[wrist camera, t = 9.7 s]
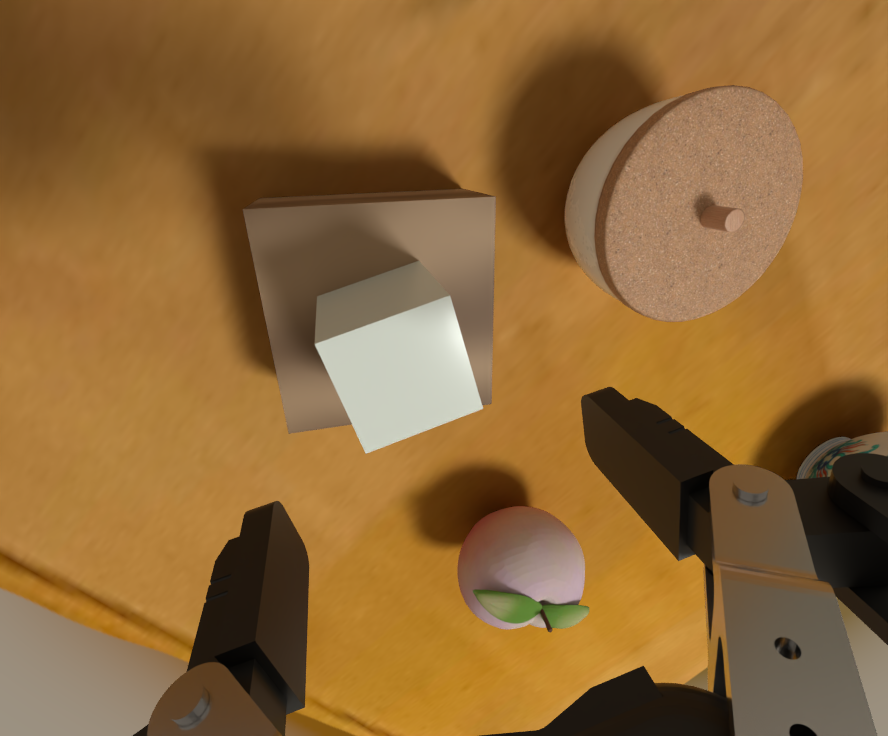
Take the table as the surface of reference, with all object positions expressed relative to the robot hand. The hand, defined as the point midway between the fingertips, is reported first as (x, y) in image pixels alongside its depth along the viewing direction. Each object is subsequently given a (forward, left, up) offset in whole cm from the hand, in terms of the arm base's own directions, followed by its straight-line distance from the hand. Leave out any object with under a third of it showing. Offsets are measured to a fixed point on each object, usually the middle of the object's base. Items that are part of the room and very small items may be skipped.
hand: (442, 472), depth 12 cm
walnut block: (0, 0, -18) cm, 18 cm away
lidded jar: (-1, +16, -18) cm, 24 cm away
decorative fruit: (+21, +4, -18) cm, 28 cm away
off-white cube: (0, 0, -12) cm, 12 cm away
